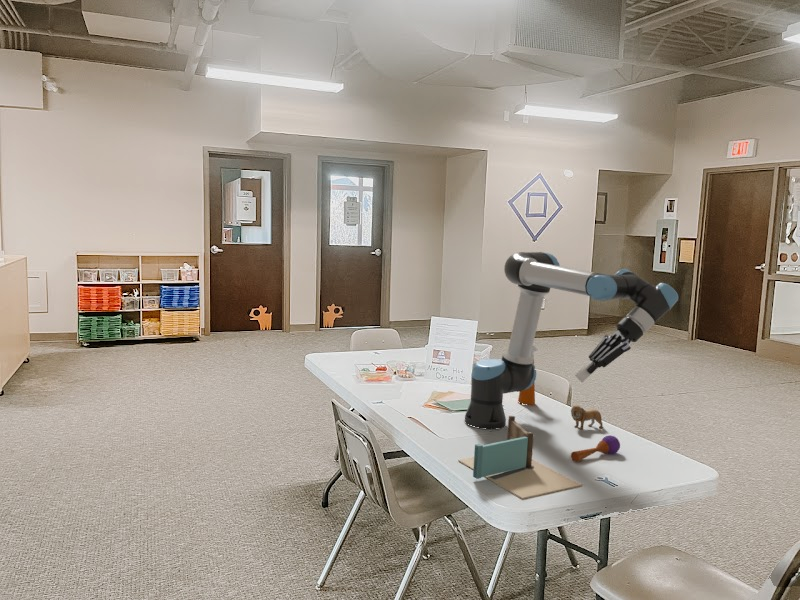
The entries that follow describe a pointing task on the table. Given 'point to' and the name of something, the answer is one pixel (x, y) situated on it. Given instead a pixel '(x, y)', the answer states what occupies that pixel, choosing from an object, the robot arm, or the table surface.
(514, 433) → the fence frame
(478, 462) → the fence gate
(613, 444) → the purple and orange maraca
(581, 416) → the lion figurine
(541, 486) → the mat
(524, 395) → the spray bottle
